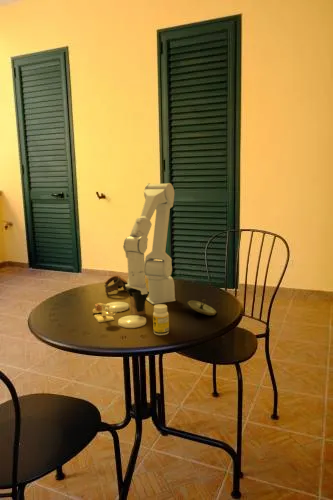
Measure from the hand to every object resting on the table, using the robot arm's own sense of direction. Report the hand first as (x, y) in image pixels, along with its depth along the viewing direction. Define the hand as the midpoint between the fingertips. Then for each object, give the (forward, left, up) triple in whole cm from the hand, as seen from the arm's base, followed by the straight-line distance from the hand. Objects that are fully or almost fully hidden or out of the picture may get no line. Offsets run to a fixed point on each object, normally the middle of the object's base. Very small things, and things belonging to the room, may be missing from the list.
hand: (137, 309), depth 141 cm
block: (0, 0, -1) cm, 1 cm away
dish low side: (+5, -9, -1) cm, 10 cm away
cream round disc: (+5, +8, -1) cm, 10 cm away
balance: (+12, -1, -1) cm, 12 cm away
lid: (-19, +10, -2) cm, 22 cm away
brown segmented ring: (-2, -28, -2) cm, 28 cm away
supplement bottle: (0, +20, -2) cm, 20 cm away
